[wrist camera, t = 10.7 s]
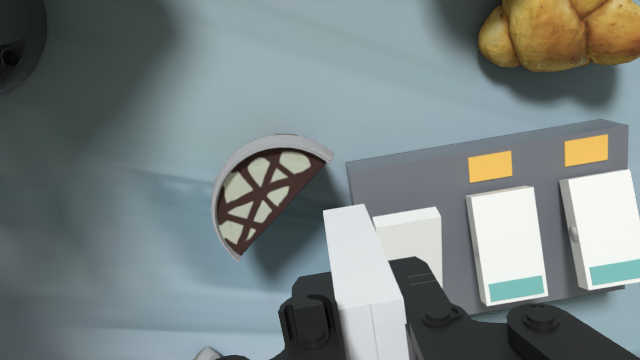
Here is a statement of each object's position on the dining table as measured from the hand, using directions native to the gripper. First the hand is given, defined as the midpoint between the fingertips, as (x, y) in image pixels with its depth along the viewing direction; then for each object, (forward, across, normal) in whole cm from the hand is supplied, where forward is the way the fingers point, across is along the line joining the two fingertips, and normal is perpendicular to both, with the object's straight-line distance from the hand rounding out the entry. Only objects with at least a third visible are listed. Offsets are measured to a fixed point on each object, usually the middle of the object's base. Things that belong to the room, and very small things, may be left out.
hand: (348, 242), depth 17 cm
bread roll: (+30, +22, +6) cm, 37 cm away
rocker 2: (+23, +15, -13) cm, 30 cm away
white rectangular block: (+23, +24, -13) cm, 35 cm away
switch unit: (+29, +15, -13) cm, 35 cm away
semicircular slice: (+30, -6, -3) cm, 30 cm away
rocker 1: (+23, +6, -13) cm, 27 cm away
